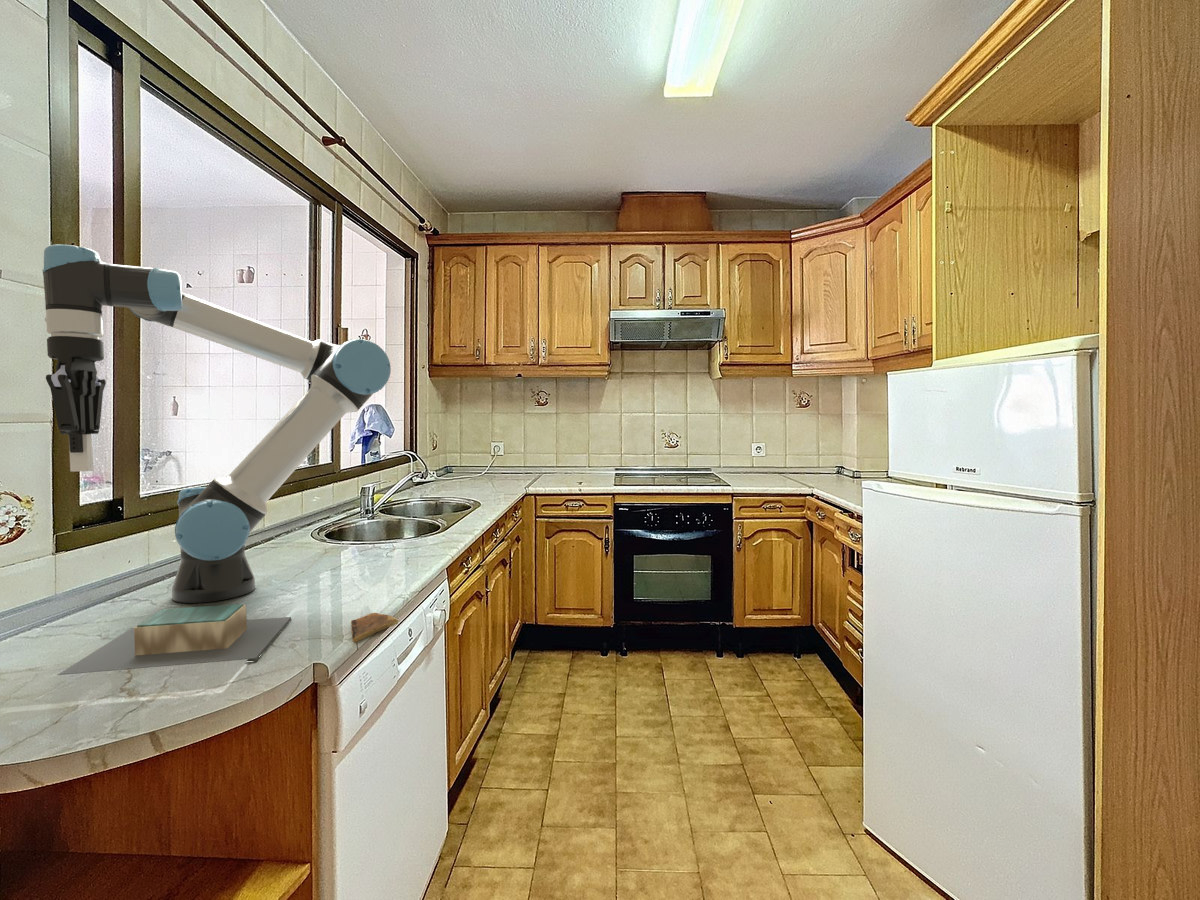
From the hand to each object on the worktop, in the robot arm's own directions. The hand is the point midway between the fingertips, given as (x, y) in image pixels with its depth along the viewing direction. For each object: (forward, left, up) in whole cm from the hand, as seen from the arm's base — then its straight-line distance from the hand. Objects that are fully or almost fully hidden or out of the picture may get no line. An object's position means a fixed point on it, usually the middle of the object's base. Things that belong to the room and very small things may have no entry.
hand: (81, 470), depth 107 cm
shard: (-34, +39, -29) cm, 59 cm away
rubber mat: (-10, +24, -28) cm, 38 cm away
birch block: (-5, +20, -26) cm, 33 cm away
